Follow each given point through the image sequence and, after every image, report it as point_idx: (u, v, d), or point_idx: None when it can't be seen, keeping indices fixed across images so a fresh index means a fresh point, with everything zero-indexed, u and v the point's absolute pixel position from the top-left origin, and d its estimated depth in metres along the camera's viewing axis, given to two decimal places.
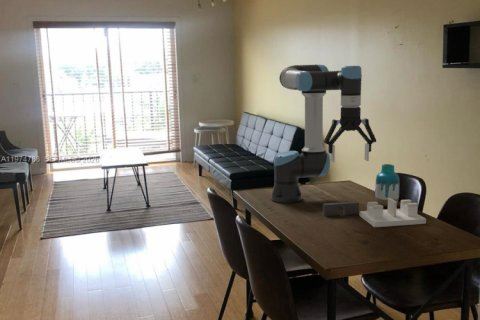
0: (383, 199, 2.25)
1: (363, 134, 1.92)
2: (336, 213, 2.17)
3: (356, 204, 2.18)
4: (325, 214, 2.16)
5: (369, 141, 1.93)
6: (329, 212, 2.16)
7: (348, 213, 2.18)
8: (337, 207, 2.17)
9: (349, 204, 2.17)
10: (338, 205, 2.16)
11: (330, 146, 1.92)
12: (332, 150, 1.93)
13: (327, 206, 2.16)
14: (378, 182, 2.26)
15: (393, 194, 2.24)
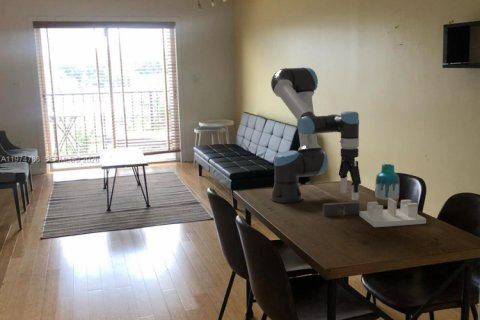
0: (383, 199, 2.25)
1: (350, 174, 2.11)
2: (336, 213, 2.17)
3: (356, 204, 2.18)
4: (325, 214, 2.16)
5: (352, 182, 2.09)
6: (329, 212, 2.16)
7: (348, 213, 2.18)
8: (337, 207, 2.17)
9: (349, 204, 2.17)
10: (338, 205, 2.16)
11: (341, 178, 2.24)
12: None
13: (327, 206, 2.16)
14: (378, 182, 2.26)
15: (393, 194, 2.24)
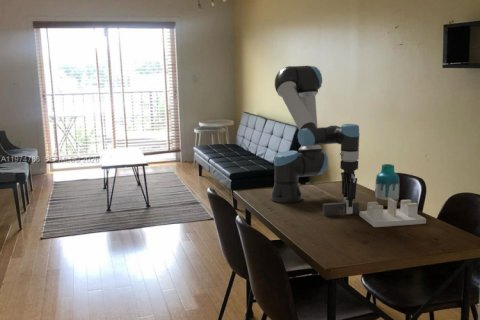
0: (383, 199, 2.25)
1: (347, 188, 2.15)
2: (336, 213, 2.17)
3: (356, 204, 2.18)
4: (325, 214, 2.16)
5: (347, 197, 2.15)
6: (329, 212, 2.16)
7: None
8: (337, 207, 2.17)
9: None
10: (338, 205, 2.16)
11: None
12: None
13: (327, 206, 2.16)
14: (378, 182, 2.26)
15: (393, 194, 2.24)
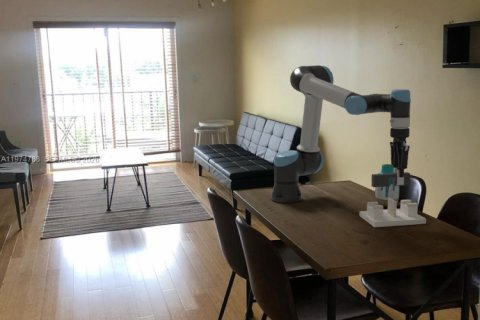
0: (383, 199, 2.25)
1: (398, 157, 2.03)
2: (386, 184, 2.05)
3: (407, 174, 2.06)
4: (374, 185, 2.05)
5: (398, 166, 2.03)
6: (379, 183, 2.05)
7: None
8: (387, 178, 2.05)
9: None
10: (388, 175, 2.05)
11: (394, 168, 2.09)
12: None
13: (377, 177, 2.04)
14: None
15: (393, 194, 2.24)
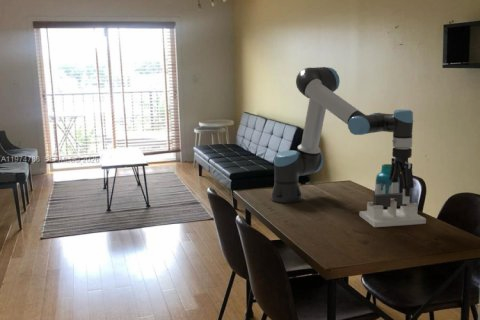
0: None
1: (402, 177, 2.03)
2: (388, 204, 2.07)
3: None
4: None
5: (404, 185, 2.01)
6: (381, 204, 2.06)
7: (400, 205, 2.08)
8: (389, 198, 2.06)
9: (401, 195, 2.07)
10: (390, 196, 2.06)
11: (392, 182, 2.13)
12: None
13: (379, 197, 2.06)
14: (378, 182, 2.26)
15: None
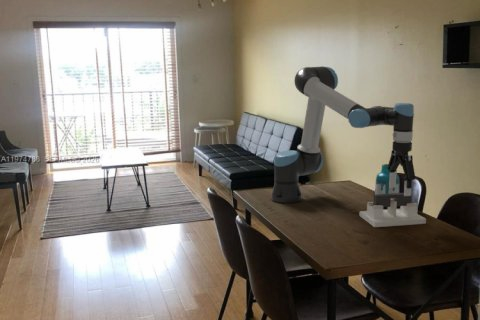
0: None
1: (403, 169, 2.01)
2: (388, 204, 2.07)
3: None
4: None
5: (406, 177, 1.99)
6: (381, 204, 2.06)
7: (400, 205, 2.08)
8: (389, 198, 2.06)
9: (401, 195, 2.07)
10: (390, 196, 2.06)
11: (390, 173, 2.14)
12: None
13: (379, 197, 2.06)
14: (378, 182, 2.26)
15: None
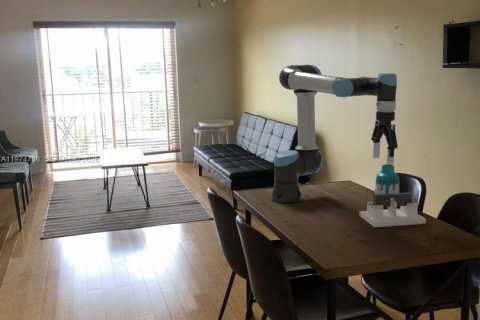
0: None
1: (386, 138, 2.04)
2: (388, 204, 2.07)
3: (409, 195, 2.07)
4: None
5: (388, 146, 2.03)
6: (381, 204, 2.06)
7: (400, 205, 2.08)
8: (389, 198, 2.06)
9: (401, 195, 2.07)
10: (390, 196, 2.06)
11: (374, 143, 2.18)
12: None
13: (379, 197, 2.06)
14: (378, 182, 2.26)
15: None
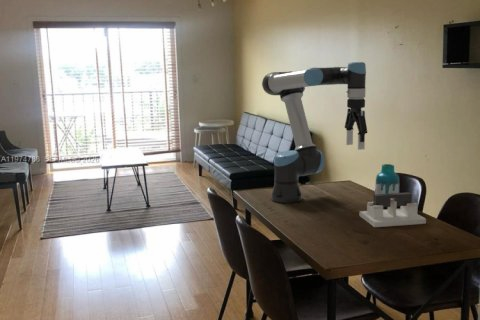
0: None
1: (357, 124, 2.12)
2: (388, 204, 2.07)
3: (409, 195, 2.07)
4: None
5: (359, 131, 2.11)
6: (381, 204, 2.06)
7: (400, 205, 2.08)
8: (389, 198, 2.06)
9: (401, 195, 2.07)
10: (390, 196, 2.06)
11: (347, 131, 2.26)
12: None
13: (379, 197, 2.06)
14: (378, 182, 2.26)
15: None
